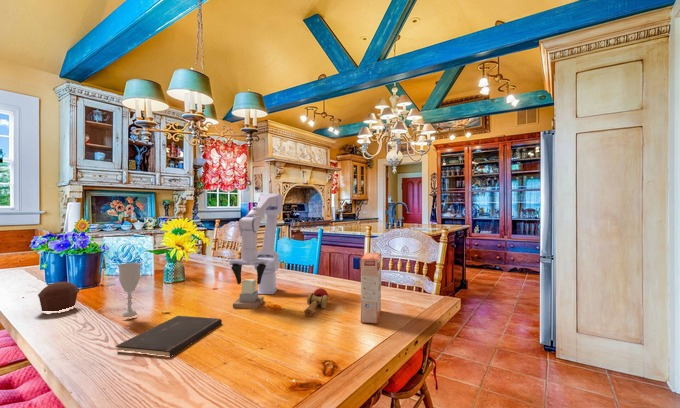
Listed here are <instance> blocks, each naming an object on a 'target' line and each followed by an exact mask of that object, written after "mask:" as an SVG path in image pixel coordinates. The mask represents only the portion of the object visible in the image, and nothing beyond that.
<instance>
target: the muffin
mask: <svg viewBox="0 0 680 408" xmlns="http://www.w3.org/2000/svg"><path fill="white" fill-rule="evenodd" d="M79 292H80V289H79V288H78V287H77V285H75V284H74V283H73V282H69V281H58V282H52V283H50V284H48V285H47V286H44V288H43V289H41V291H40V292H39V293H38V294H37V297H38V299H39V303H40V308H41V312H42V311H59V310H62V309H66V308H69V307H72V306H74V305H75V306H76V303H77V298H78V297H77V296H78V293H79Z"/></svg>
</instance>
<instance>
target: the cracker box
mask: <svg viewBox="0 0 680 408" xmlns="http://www.w3.org/2000/svg"><path fill="white" fill-rule="evenodd" d="M360 260H361V261H360V323H362V324H363V323H364V324H375V325H376V324H377V325H378V323H379V318H380V315H381V312H382V311H381V309H382V308H381V307H382V304H381V303H382V302H381V301H382V299H381V298H382V253H379V252H366V253H365V254H363V256H362V257H361V259H360Z"/></svg>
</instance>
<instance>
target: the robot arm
mask: <svg viewBox="0 0 680 408" xmlns="http://www.w3.org/2000/svg"><path fill="white" fill-rule="evenodd" d="M283 201H284V200H283V195H282V194H281V193H279V192H278V193H260V194H259V195H258V199H257V202H258V203H257V205H256V206H253V207H252V208H251V209H250V210H249V211H248V212H247V214H246V215H245V216H243V217H242V218H239V221H238V230H239V235H240V237H241V243H240V245H241V246H240V247H241V249H240V251H241V252H240V253H241V257H240V258H236V259H235V258H232V259H229V266H230V267H231V270H232V271H233V274H234V276H235V279H236V283H237V285H240V284H242V267H243V265H244V266H246V265H247V266H253V269H254V270H255V271H256V275H257V280H256V281H257V283H256V284H257V290H258V295H274V294H275V293H276V292H277V290H279V287H277V276H276V275H277V273H276V272H277V270H278V269H279V266H280V260H279V259H280V255H279V253H278V252H277V251H275V249H274V247H275V239H276V233H277V232H276V231H277V224H278V217H279V214H281V213H282V210H283V204H284V202H283ZM265 215H266V220H265V228H264V235H263V242H262V249H260V250H259V251H258V248H257V247H258V245H257V244H258V241H257V240H258V239H257V238H258V231H259V229H260V225H261V221H262V220H263V218H264V216H265Z"/></svg>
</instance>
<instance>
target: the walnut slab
mask: <svg viewBox="0 0 680 408" xmlns="http://www.w3.org/2000/svg"><path fill="white" fill-rule="evenodd" d="M264 300H265V299H264V296H258V299H257V300H256V301H255V302H240V297H239V298H238V299H236V300H235V301H234V302H233V303H232V309H233V308H250V309H251V310H252V309H254V310H256V309H257V310H258V309H259V308H260V306H261V305H262V304H263V303H264V302H263V301H264Z"/></svg>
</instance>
